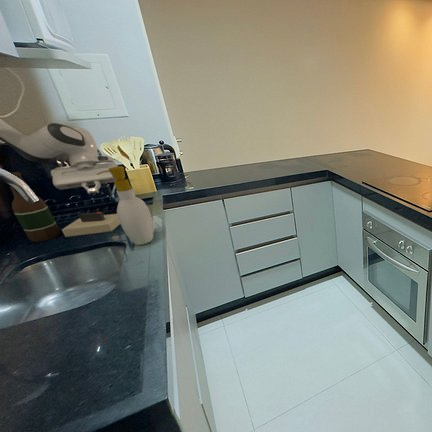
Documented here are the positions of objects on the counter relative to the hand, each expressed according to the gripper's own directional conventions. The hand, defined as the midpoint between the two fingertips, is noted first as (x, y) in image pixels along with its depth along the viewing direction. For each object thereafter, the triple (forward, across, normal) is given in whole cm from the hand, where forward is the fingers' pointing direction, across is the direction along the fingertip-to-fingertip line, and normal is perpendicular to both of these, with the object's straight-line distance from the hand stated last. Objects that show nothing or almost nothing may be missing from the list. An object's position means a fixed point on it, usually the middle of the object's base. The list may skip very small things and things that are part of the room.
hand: (93, 193), depth 116 cm
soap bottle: (+32, +12, -15) cm, 37 cm away
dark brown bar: (+12, -2, 0) cm, 12 cm away
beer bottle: (+14, -16, +3) cm, 21 cm away
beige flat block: (+14, -2, +2) cm, 15 cm away
